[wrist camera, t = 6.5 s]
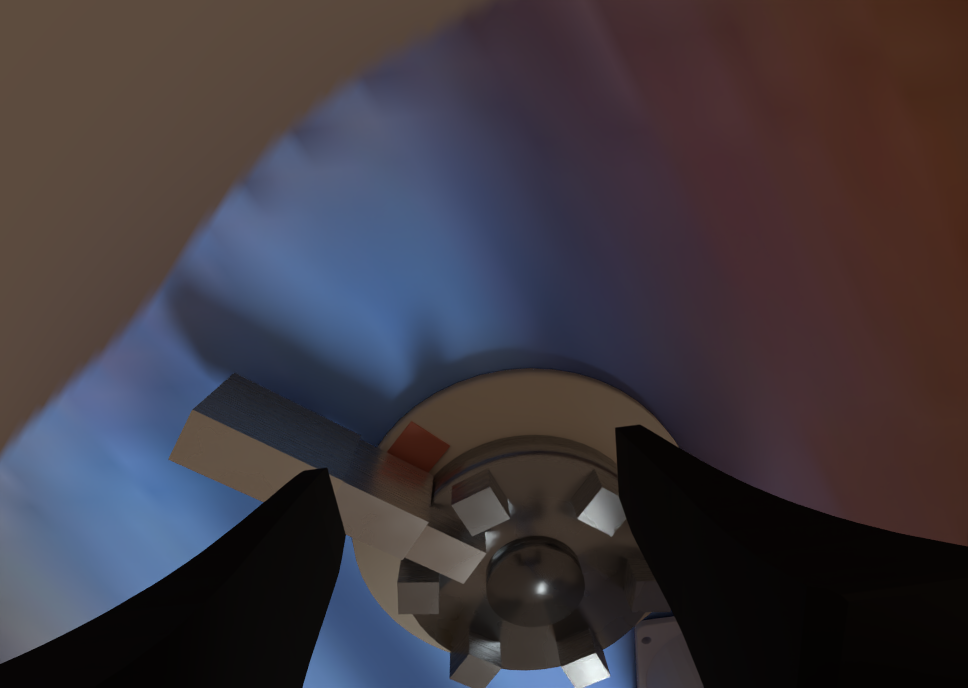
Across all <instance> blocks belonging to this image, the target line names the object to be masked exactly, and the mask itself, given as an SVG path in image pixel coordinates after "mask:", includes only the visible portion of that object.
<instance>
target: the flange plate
mask: <svg viewBox="0 0 968 688" xmlns="http://www.w3.org/2000/svg"><path fill="white" fill-rule="evenodd" d="M638 424H640V425H642V426H644V427H646V428H647V429H649V430H651V431H652V432H654V433H656V434H657V435H659V436H660V437H662V438H664V439H665V440H667V441H669V442H670V443H672V444H674V445H675V446H677V447H678V445H677V444H676V442H675V440H674V439H673V438H672V437H671V435H670V434H669V433H668V431H667V430H666V429H665V428H664V427H663V426H662V424H661V423H660V422H659V421H658V420H657V419H656V417H655V416H654V415H653V414H652V413H651V412H650V411H648V410H647V409H646V408H645V407H644V406H643V405H641V404H640V403H639V402H638V401H637V400H635V399H633V398H632V397H630V396H629V395H627V394H626V393H624V392H622V391H621V390H619V389H617V388H615V387H613V386H611V385H608V384H606V383H604V382H602V381H600V380H597V379H594V378H591V377H587V376H584V375H581V374H577V373H572V372H567V371H561V370H555V369H538V368H524V369H511V370H502V371H497V372H492V373H487V374H482V375H478V376H475V377H472V378H469V379H466V380H463V381H460V382H457V383H455V384H453V385H451V386H449V387H447V388H445V389H443V390H441V391H439V392H436V393H435V394H433V395H432V396H430V397H429V398H427V399H425V400H424V401H422V402H421V403H419V404H418V405H416V406H415V407H414V408H413V409H411V410H410V411H409V412H408V413H407V414H406V415H404V416H403V417H402V418H401V419H400V420H399V421H398V422H397V423H396V424H395V425H394V426H393V427H392V429H391V430H390V431H389V432H388V433H387V434H386V435H385V436H384V438H383V439H382V441H381V442H380V444H379V445H378V447H377V448H379V449H381V450H383V451H385V452H387V453H389V454H391V455H393V456H395V457H397V458H399V459H401V460H403V461H405V462H407V463H409V464H411V465H413V466H416V467H418V468H420V469H422V470H424V471H426V472H428V473H430V474H432V475H435V474H436V473H437V472H438V471H439V470H440V469H441V468H442V467H444V466H445V465H446V464H448V463H449V462H450V461H452V460H453V459H454V458H456V457H458V456H459V455H461V454H463V453H465V452H466V451H468V450H470V449H472V448H475V447H477V446H479V445H482V444H484V443H487V442H491V441H494V440H498V439H501V438H507V437H513V436H520V435H547V436H555V437H561V438H566V439H570V440H573V441H576V442H580V443H583V444H585V445H587V446H589V447H592V448H594V449H596V450H598V451H600V452H601V453H603V454H604V455H606V456H607V457H609V458H610V459H612V460H613V461H614V462H615V463H616V464H617V456H616V437H615V428H616V427H624V426H631V425H638ZM353 546H354V551H355V557H356V561H357V564H358V566H359V569H360V572H361V575H362V577H363V579H364V581H365V583H366V585H367V587H368V588H369V590H370V592H371V594H372V595H373V596H374V598H375V599H376V600H377V602H378V603H379V604H380V606H381V607H382V608H383V609H384V610H385V611H386V612H387V613H388V614H389V615H390V616H391V617H392V618H393V619H394V620H395V621H396V622H397V623H398V624H399V625H401V626H402V627H403V628H405V629H406V630H407V631H409V632H410V633H411V634H413V635H415V636H416V637H418V638H420V639H421V640H423V641H425V642H426V643H428V644H431V645H433V646H435V647H437V648H440V649H442V650H444V651H447V652H451V651H449V650H447V649H446V648H444V647H443V646H441V645H440V644H439V643H437V642H436V641H435V640H434V639H433V638H431V637H430V636H429V635H428V634H427V633H426V631H425V630H424V629H423V628H422V627H421V626H420V625H419V623H418V622H417V620H416V619H415V617H414V616H413V614H398V592H397V581H398V575H399V568H400V562H401V559H399V558H397V557H395V556H392V555H390V554H388V553H386V552H384V551H381V550H379V549H377V548H375V547H372V546H370V545H368V544H366V543H364V542H361V541H359V540H357V539H355V538H353ZM650 613H651V612H645V614H644V615H643V616H642V617H641V619H640V620H639V621H638V622H637V624H638V623H639V622H640V621H641V620H643V619H644V618H645V617H646V616H648V615H649V614H650ZM637 624H636V625H637ZM633 627H634V626H633Z"/></svg>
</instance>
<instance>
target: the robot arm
mask: <svg viewBox="0 0 968 688" xmlns="http://www.w3.org/2000/svg"><path fill="white" fill-rule="evenodd" d="M615 437H616V456H617V474H618V492H619V499H620V502H621V505H622V508H623V511H624V514H625V516H626V519H627V522H628V524H629V527H630V530H631V533H632V535H633V537H634V539H635V541H636V543H637V545H638V547H639V549H640V551H641V552H642V554H643V556H644V558H645V560H646V562H647V564H648V566H649V568H650V570H651V572H652V574H653V576H654V578H655V580H656V582H657V583H658V585H659V587H660V589H661V591H662V593H663V595H664V597H665V599H666V601H667V603H668V605H669V607H670V609H671V611H672V612H673V614H674V616H672V617H665V618H657V619H650V620H643V621H640V622H639V623H638V624H637V625H635V629H634V630H635V651H636V673H637V688H968V547H967V546H962V545H957V544H952V543H946V542H941V541H936V540H931V539H926V538H920V537H915V536H910V535H905V534H900V533H896V532H892V531H888V530H884V529H880V528H876V527H872V526H868V525H864V524H860V523H856V522H853V521H849V520H846V519H842V518H839V517H835V516H832V515H829V514H826V513H823V512H820V511H817V510H814V509H810V508H807V507H804V506H801V505H798V504H796V503H793V502H790V501H787V500H785V499H782V498H779V497H777V496H775V495H772V494H770V493H767V492H765V491H763V490H760V489H758V488H755V487H753V486H751V485H748V484H746V483H744V482H742V481H740V480H738V479H736V478H734V477H732V476H730V475H728V474H726V473H724V472H722V471H720V470H718V469H716V468H714V467H712V466H710V465H708V464H706V463H705V462H703V461H701V460H699V459H697V458H696V457H694V456H692V455H690V454H689V453H687V452H685V451H684V450H682V449H680V448H679V447H677V446H675V445H674V444H672V443H670V442H669V441H667V440H665V439H664V438H662V437H660V436H659V435H657V434H656V433H654V432H652V431H651V430H649V429H647V428H646V427H644V426H642V425H640V424H638V425H631V426H624V427H616V428H615ZM345 536H346V533H345V530H344V526H343V522H342V519H341V515H340V512H339V508H338V504H337V501H336V497H335V494H334V490H333V486H332V483H331V479H330V476H329V472H328V469H327V467H326V468H319V469H312V470H305V471H302V472H301V473H299V474H298V475H296V476H295V477H294V478H292V479H291V480H290V481H289V482H287V483H286V484H285V485H284V486H283V487H281V488H280V489H279V490H278V491H277V492H276V493H274V494H273V495H272V496H271V497H270V498H268V499H267V500H266V501H265V502H264V503H263V504H261V505H260V506H259V507H258V508H257V509H255V510H254V511H253V512H252V513H251V514H249V515H248V516H247V517H246V518H245V519H243V520H242V521H241V522H240V523H238V524H237V525H236V526H235V527H233V528H232V529H231V530H230V531H228V532H227V533H226V534H224V535H223V536H222V537H221V538H219V539H218V540H217V541H215V542H214V543H213V544H212V545H210V546H209V547H208V548H206V549H205V550H204V551H202V552H201V553H200V554H198V555H197V556H195V557H194V558H193V559H191V560H190V561H188V562H187V563H186V564H184V565H183V566H181V567H180V568H178V569H177V570H175V571H174V572H172V573H171V574H169V575H168V576H166V577H165V578H163V579H161V580H160V581H158V582H157V583H155V584H154V585H152V586H150V587H149V588H147V589H145V590H143V591H142V592H140V593H138V594H137V595H135V596H133V597H132V598H130V599H128V600H126V601H125V602H123V603H121V604H120V605H118V606H116V607H114V608H113V609H111V610H109V611H108V612H106V613H104V614H102V615H100V616H99V617H97V618H95V619H93V620H91V621H89V622H87V623H85V624H83V625H81V626H80V627H78V628H76V629H74V630H72V631H70V632H68V633H66V634H64V635H62V636H60V637H58V638H56V639H54V640H52V641H50V642H48V643H46V644H44V645H41V646H39V647H37V648H35V649H33V650H31V651H29V652H27V653H24V654H22V655H20V656H18V657H15V658H13V659H11V660H8V661H6V662H4V663H2V664H0V688H303V683H304V680H305V676H306V673H307V669H308V666H309V663H310V659H311V656H312V653H313V650H314V647H315V644H316V641H317V638H318V635H319V632H320V629H321V626H322V623H323V620H324V617H325V614H326V611H327V608H328V605H329V602H330V599H331V596H332V593H333V590H334V587H335V584H336V580H337V577H338V574H339V570H340V565H341V560H342V554H343V548H344V542H345Z"/></svg>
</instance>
